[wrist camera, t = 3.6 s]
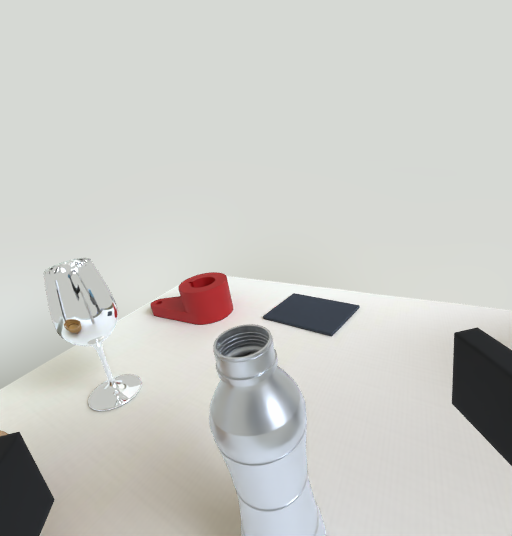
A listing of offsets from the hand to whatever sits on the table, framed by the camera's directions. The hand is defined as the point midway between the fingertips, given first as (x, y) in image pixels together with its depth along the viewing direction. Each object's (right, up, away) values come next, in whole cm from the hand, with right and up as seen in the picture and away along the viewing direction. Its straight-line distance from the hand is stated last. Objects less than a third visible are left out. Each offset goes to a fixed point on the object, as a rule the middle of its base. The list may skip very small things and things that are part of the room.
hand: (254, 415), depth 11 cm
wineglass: (-20, -14, +41) cm, 48 cm away
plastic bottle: (+3, -18, +17) cm, 25 cm away
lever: (-13, -5, +61) cm, 63 cm away
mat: (+10, -4, +53) cm, 54 cm away
